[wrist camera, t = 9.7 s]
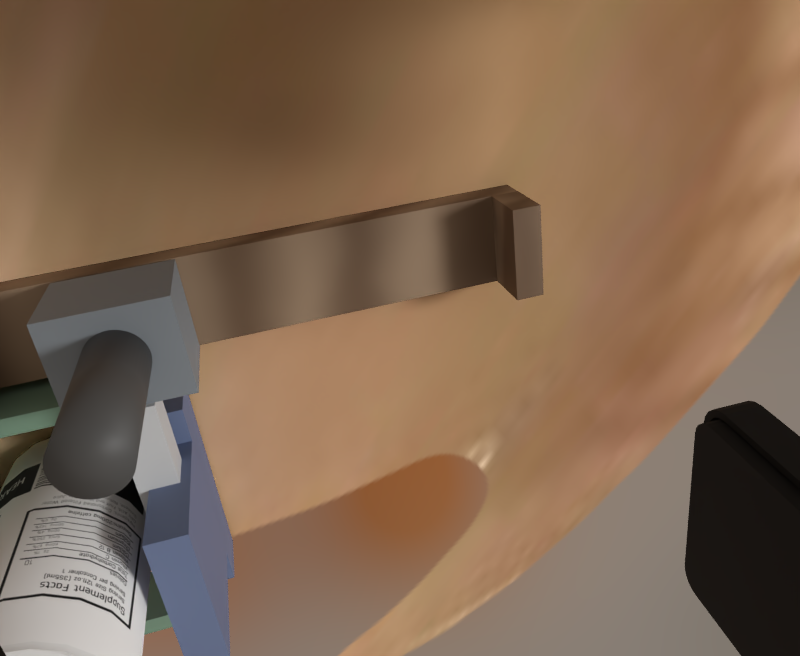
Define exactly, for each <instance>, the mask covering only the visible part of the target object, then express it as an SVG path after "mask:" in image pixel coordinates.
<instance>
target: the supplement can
mask: <svg viewBox="0 0 800 656" xmlns="http://www.w3.org/2000/svg"><path fill="white" fill-rule="evenodd" d="M49 440H50V438H49V439H46V440H44V441H41V442H38V443H36V444H34V445H33V446H32V447H30V448H29V449H28V450H27V451H26V452H24V453H23V454H22V455H21V456H20V457H18V458H17V459H16V460H15V462H14V464H13V466H12V468H11V470H10V472H9V473H8V475H7V477H6V479H5V481H4V484H3V486H2V488H1V491H0V646H1V648H2V649H3V651H4V653H5V654H6V656H142V652H143V642H144V632H145V623H146V613H147V603H148V593H149V583H150V573H151V568H150V566H149V563H148V561H147V558H146V555H145V553H144V550H143V547H142V543H143V535H144V527H145V519H146V512H145V509H144V507H143V504H142V501H141V499H140V496H139V493H138V490H137V488H136V485H135V482H134V479H133V478H132V479H131V481H130V482H129V483H128V485H127V486H125V487H124V488H123V489H122V490H120V491H119V492H117V493H115V494H113V495H111V496H108V497H105V498H100V499H79V498H74V497H71V496H68V495H66V494H64V493H62V492H60V491H59V490H57V489H56V488H55V487H54V486H53V485H52V484H51V483H50V482H49V481H48V479H47V477H46V476H45V473H44V470H43V457H44V453H45V451H46V448H47V445H48V442H49Z"/></svg>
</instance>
